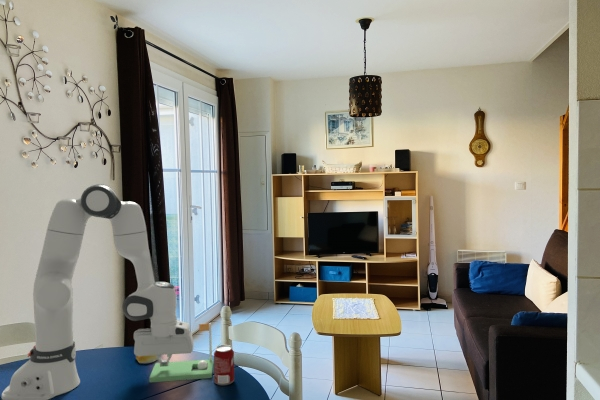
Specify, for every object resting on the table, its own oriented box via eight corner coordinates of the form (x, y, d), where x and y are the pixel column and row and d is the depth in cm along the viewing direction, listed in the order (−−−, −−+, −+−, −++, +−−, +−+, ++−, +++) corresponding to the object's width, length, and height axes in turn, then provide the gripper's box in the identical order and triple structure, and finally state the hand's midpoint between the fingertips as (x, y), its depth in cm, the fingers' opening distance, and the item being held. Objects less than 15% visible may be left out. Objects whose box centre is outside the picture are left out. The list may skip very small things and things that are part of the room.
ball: (195, 369, 155) (201, 360, 155) (195, 364, 158) (201, 356, 158) (203, 374, 155) (209, 366, 155) (204, 370, 159) (209, 362, 159)
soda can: (230, 387, 144) (229, 352, 144) (211, 385, 146) (210, 351, 145) (237, 378, 151) (236, 344, 150) (218, 376, 152) (218, 343, 152)
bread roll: (140, 366, 162) (140, 355, 162) (133, 358, 169) (133, 348, 169) (162, 360, 167) (162, 350, 166) (155, 353, 174) (154, 343, 174)
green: (149, 382, 148) (148, 337, 148) (155, 367, 160) (154, 326, 159) (211, 377, 152) (210, 334, 151) (213, 363, 163) (212, 322, 163)
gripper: (131, 332, 149) (132, 371, 150) (192, 329, 152) (192, 368, 153) (135, 326, 156) (136, 363, 156) (193, 323, 158) (194, 360, 159)
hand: (164, 365), depth 155 cm, fingers closed
